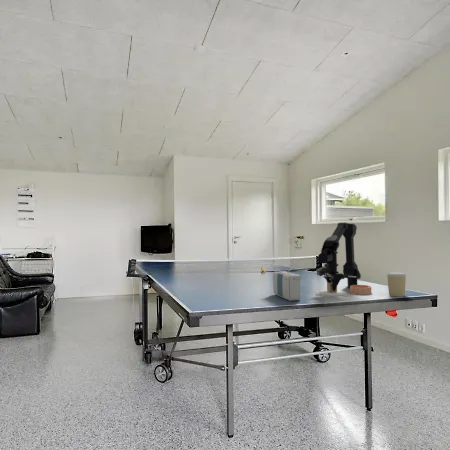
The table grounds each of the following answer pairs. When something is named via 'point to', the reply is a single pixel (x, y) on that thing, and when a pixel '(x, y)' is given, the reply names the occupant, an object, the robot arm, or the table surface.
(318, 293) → the mat
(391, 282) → the coffee cup
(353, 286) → the bowl
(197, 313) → the table surface
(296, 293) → the white blue box
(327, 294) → the lid
